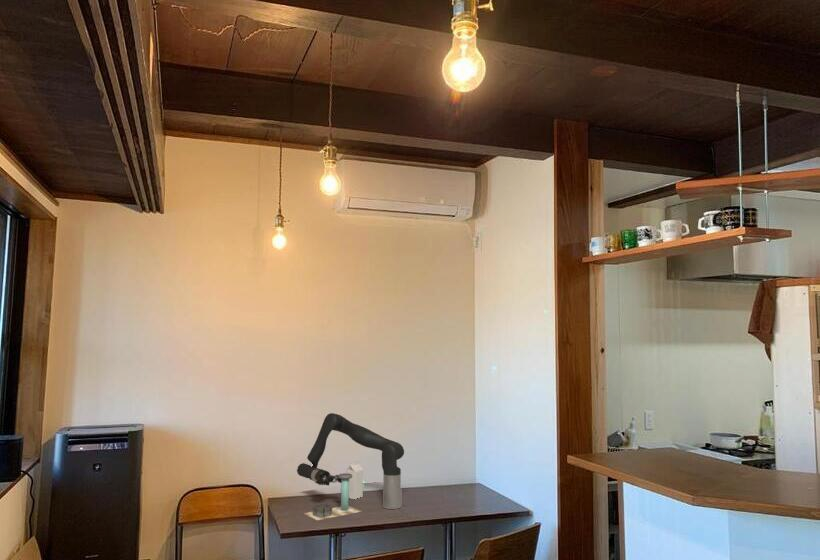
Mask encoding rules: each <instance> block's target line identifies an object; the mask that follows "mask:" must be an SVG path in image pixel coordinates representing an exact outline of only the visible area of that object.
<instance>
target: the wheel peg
mask: <svg viewBox="0 0 820 560" xmlns="http://www.w3.org/2000/svg"><path fill="white" fill-rule="evenodd" d="M337 475H338V478H340V479H341V483H340V484H341V485H340V506H341V510H343V511H345V510H349V506H350V505H349V504H350V502H349V501H350V499H349V479H350V478H352V474H347V473H345V472H344V473H339V474H337Z"/></svg>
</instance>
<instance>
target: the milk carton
mask: <svg viewBox="0 0 820 560" xmlns="http://www.w3.org/2000/svg"><path fill="white" fill-rule="evenodd" d="M345 473H347V474H352V478H350V479H349V498H350V499H349V500H354V499H355V500H358V499H360V497H361V498H363V493H364V492H363V491H364V488H363V487H364V486H363V485H364V469H363V467H362V466H361V465H360V464H359V461H357V462H353V463H350V465H349V466H348V467H347V469H345V471H344V474H345ZM357 498H358V499H357Z"/></svg>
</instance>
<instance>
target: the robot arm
mask: <svg viewBox="0 0 820 560" xmlns="http://www.w3.org/2000/svg"><path fill="white" fill-rule="evenodd" d="M332 431H335V432H339V433H342V434H344V435H346V436H348V437H349V438H350V439H351V440H352V442H353V441H354V442H355V443H356V444H359V445H360V446H363V447H365V448H369V449H373V450H379V451H381V468H382V470H383V473H382V474H383V478H382V479H383V487H382V488H383V489H382V491H383V492H382V508H384V509H386V510H397V509H400V508H402V506H403V489H402V488H401V485H402V484H401V477H402V476H401V475H402V471H401V468H400V467H399V466H398V464H397V463H398V462H397V461H398V460H400V459H402V458H403V456H404V454H405V449H404V447H403V445H402V444H401V443H400V442H398V441H394V440H391V439H388V438H387V437H384V436H382V435H380V434H378V433H376V432H374V431H373V430H371V429H369V428H366V427H365V426H361V425H359V424H356V423H354V422H352V421H350V420H348V419H347V418H345V417H344V416H343V415H341V414H337V413H333V412H331V413H328V414H327V415H326V416H325V417H324V419H323V422H322V425H321V428H320V430H319V433H318V435H317V437H316V440H315V441H314V444H313V446H312V448H311V450H310V451H309V453H308V455H307V456H306V457H307V458H306V459H307V460H308V461H309V462H310V464H308V463H305V462H303V463H300V464H299V465H298V466H297V468H298V469H297V468H296V472H297V474H298V475H299V477H303V478H306V479H308V478H309V480H310V481H313V482H314V483H316V484H317V485H319V486H321V485H322V486H330V483H333V484H334V483H340V484H341V479H340V478H338V475H339V474H335V475H332V474H331V472H329V471H327V470H324V469H323V468H320V467H319V468H318V465H319V461H320V460H321V458H322V456H323V454H324V452H325V451H326V446H327V444H326V443H327V440H328V438H329V435H330V434H331V432H332ZM311 463H312V464H313V466H312V467H311V466H310V465H311Z"/></svg>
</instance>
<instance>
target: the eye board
mask: <svg viewBox="0 0 820 560" xmlns="http://www.w3.org/2000/svg"><path fill="white" fill-rule="evenodd" d="M360 512H363V511H362V510H360V509H357V508H355V507H353V506H351V505H349V510H345V511H343V510H341V505H340V506H337V507H333V505H332V504H329V503H317V504H316V503H315V504H314V505H313V506H312V511H309V512H303V514H304V515H306V516H307V517H308V518H309V517H310V518H311V519H313V520H315V521H320V520H325V519H331V518H335V517H341V516H345V515H350V514H355V513H360Z"/></svg>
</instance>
